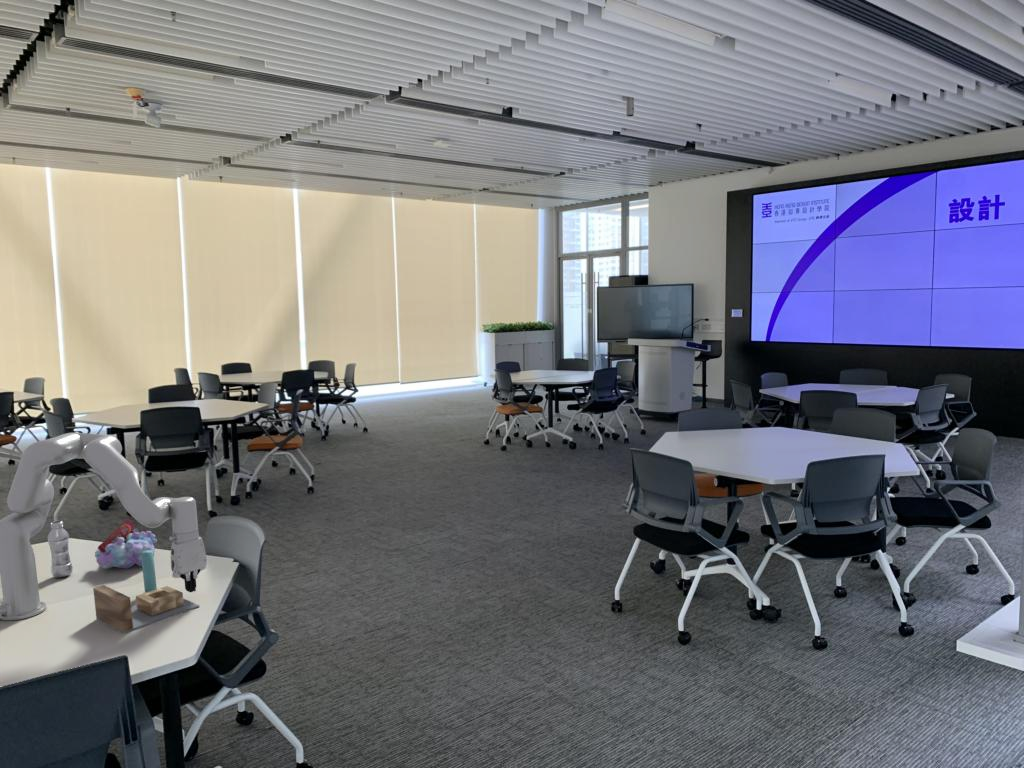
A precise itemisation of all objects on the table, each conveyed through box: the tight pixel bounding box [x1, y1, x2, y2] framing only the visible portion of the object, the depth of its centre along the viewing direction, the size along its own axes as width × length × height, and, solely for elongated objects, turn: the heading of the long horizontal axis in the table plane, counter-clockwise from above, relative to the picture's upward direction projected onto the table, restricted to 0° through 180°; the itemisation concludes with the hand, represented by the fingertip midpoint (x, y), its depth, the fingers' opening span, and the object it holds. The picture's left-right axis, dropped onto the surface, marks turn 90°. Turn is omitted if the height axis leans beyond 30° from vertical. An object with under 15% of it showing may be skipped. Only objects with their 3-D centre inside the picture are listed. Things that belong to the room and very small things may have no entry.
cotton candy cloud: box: [94, 518, 158, 570], centre depth 282 cm, size 20×22×18 cm
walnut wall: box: [92, 584, 133, 632], centre depth 228 cm, size 3×18×10 cm, turn 51°
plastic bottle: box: [47, 520, 74, 578], centre depth 272 cm, size 6×7×20 cm
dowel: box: [141, 550, 158, 593], centre depth 253 cm, size 4×4×14 cm
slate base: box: [95, 598, 200, 635], centre depth 236 cm, size 24×18×1 cm
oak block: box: [135, 585, 184, 616], centre depth 239 cm, size 10×10×4 cm
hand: (191, 590), depth 247 cm, fingers closed
